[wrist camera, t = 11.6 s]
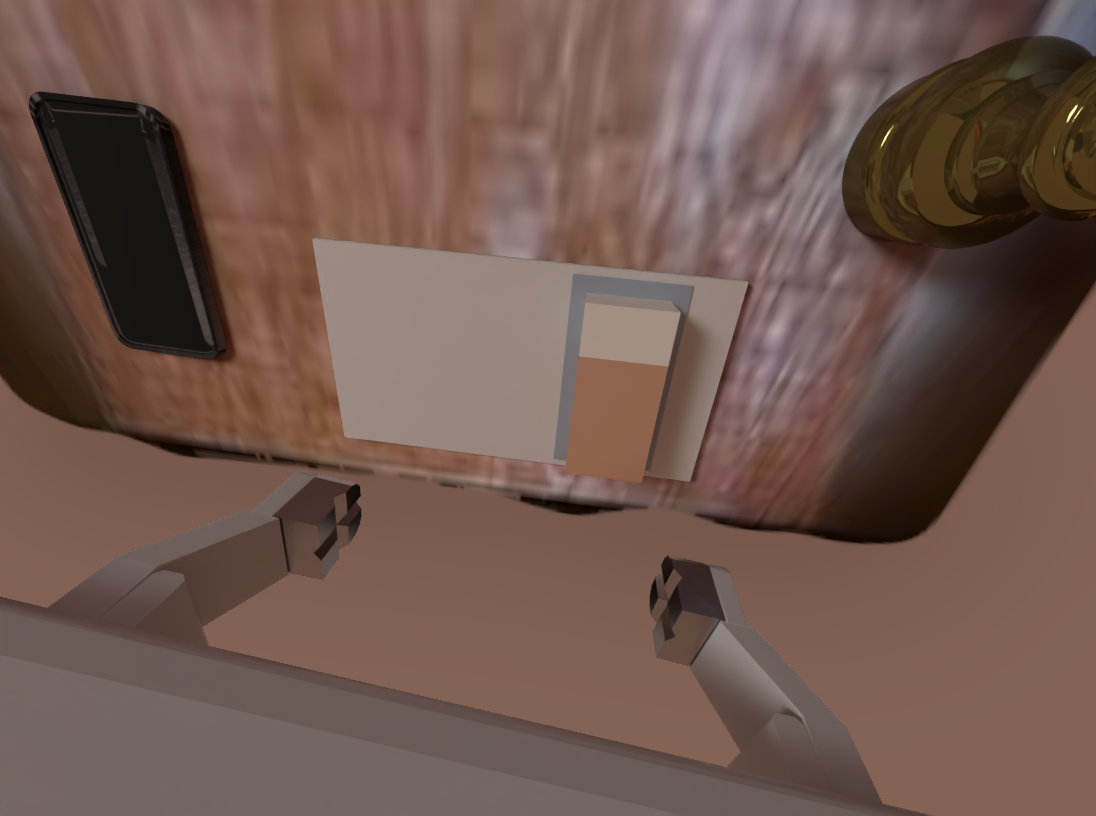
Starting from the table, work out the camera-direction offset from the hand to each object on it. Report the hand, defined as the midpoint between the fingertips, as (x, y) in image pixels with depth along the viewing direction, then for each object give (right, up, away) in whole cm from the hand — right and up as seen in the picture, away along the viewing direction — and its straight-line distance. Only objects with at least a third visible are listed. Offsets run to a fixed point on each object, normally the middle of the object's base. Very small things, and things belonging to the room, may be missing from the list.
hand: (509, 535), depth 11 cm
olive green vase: (+20, +16, +10) cm, 27 cm away
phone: (-25, +14, +16) cm, 33 cm away
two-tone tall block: (+5, +5, +16) cm, 17 cm away
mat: (-1, +6, +17) cm, 18 cm away
